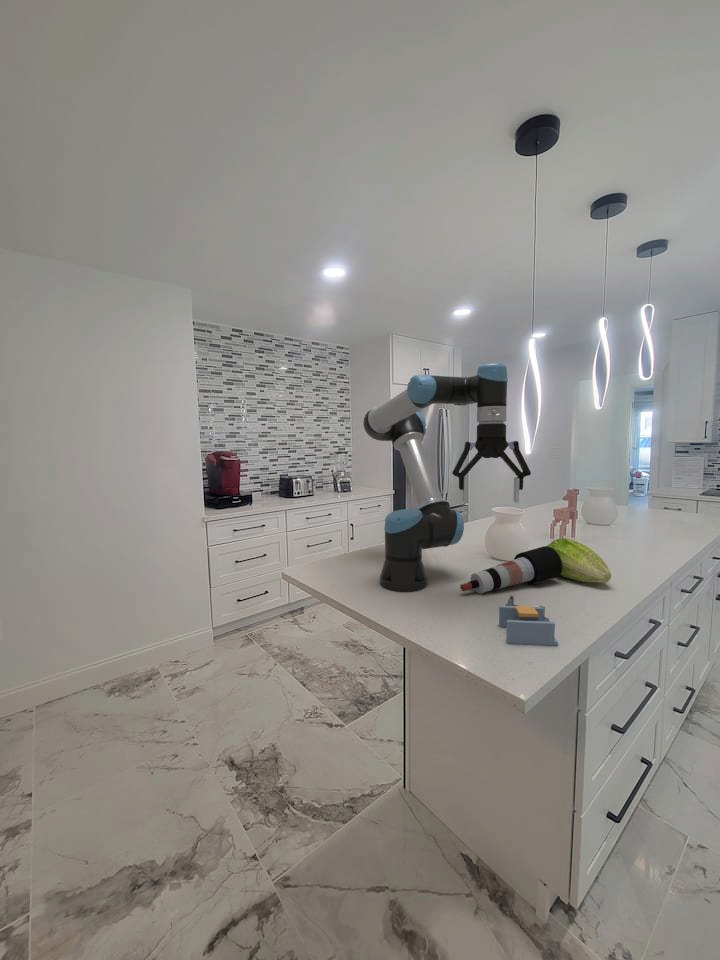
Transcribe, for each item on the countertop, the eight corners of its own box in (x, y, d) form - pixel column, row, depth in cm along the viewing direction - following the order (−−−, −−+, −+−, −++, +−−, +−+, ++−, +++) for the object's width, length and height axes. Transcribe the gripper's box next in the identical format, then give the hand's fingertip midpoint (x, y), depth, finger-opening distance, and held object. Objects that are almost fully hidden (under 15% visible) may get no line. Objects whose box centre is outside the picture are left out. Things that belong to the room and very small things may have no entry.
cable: (459, 607, 122) (448, 574, 125) (545, 579, 134) (532, 550, 137) (477, 603, 113) (464, 567, 116) (567, 574, 125) (553, 542, 128)
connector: (519, 640, 92) (519, 613, 92) (514, 631, 96) (515, 605, 96) (537, 641, 92) (538, 613, 91) (532, 632, 96) (533, 606, 95)
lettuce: (587, 576, 118) (619, 547, 120) (531, 549, 138) (559, 525, 140) (599, 606, 122) (629, 578, 125) (543, 576, 142) (570, 552, 145)
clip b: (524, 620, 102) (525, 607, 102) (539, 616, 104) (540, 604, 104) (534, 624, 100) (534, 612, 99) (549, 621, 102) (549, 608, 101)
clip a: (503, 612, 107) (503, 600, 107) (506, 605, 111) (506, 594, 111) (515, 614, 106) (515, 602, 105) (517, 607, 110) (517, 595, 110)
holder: (507, 643, 91) (507, 621, 90) (498, 625, 100) (499, 605, 99) (557, 645, 90) (558, 623, 89) (544, 627, 98) (545, 607, 98)
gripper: (445, 423, 106) (444, 503, 108) (544, 421, 103) (542, 504, 105) (443, 424, 114) (442, 499, 116) (535, 422, 110) (533, 499, 112)
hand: (490, 501), depth 110 cm, fingers open, 13 cm apart
